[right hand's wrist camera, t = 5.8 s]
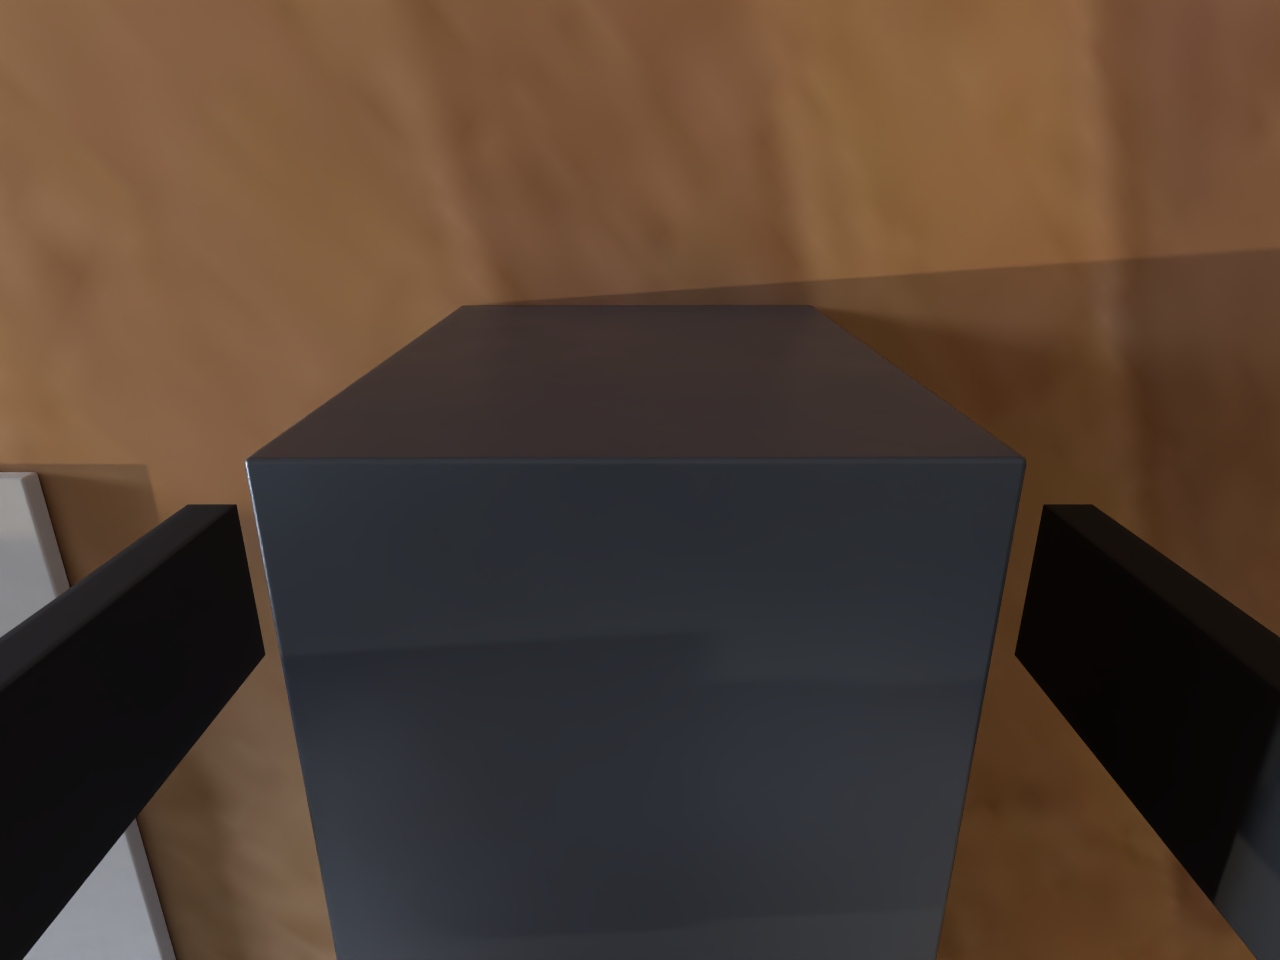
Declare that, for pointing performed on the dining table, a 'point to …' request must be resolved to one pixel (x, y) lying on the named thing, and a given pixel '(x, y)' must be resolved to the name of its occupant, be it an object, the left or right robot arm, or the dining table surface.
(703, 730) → the beam
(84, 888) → the mat
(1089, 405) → the dining table surface
